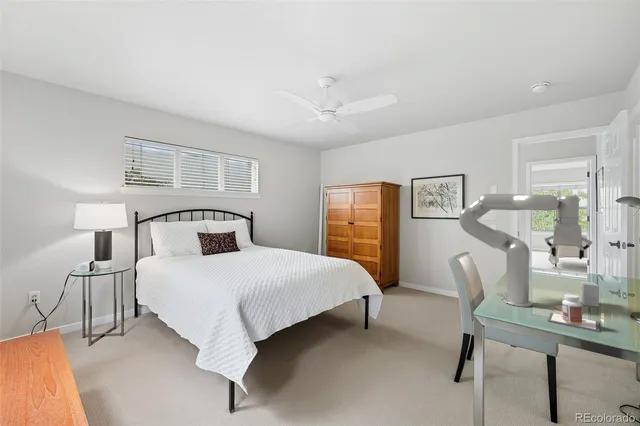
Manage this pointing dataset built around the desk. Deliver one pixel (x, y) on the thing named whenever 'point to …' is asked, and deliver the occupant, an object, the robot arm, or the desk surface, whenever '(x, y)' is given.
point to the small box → (589, 294)
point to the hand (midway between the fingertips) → (567, 257)
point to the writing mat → (585, 324)
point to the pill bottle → (572, 309)
